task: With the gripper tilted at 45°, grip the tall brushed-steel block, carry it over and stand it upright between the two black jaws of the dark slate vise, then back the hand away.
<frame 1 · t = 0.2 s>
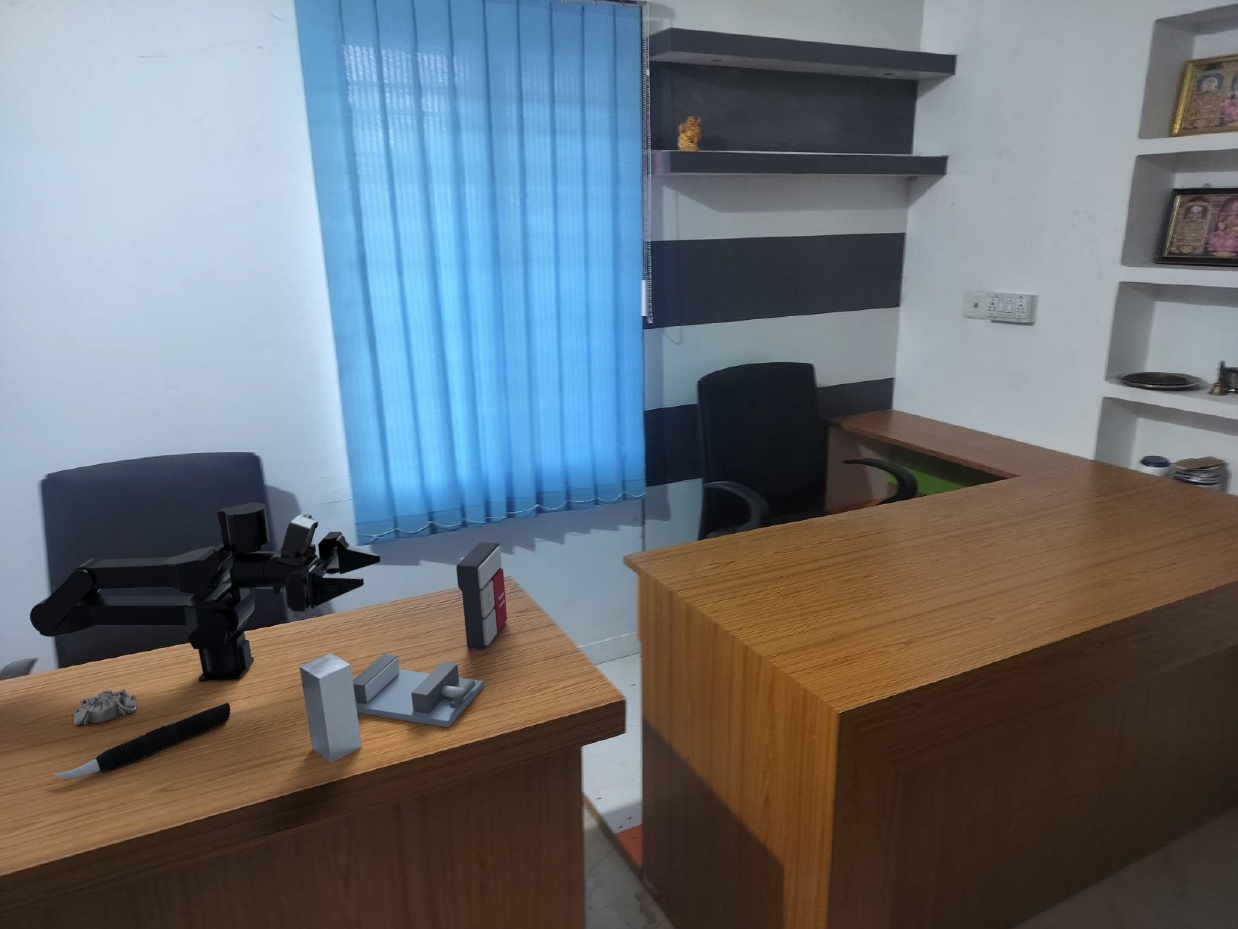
hand: (372, 569, 129), 17 cm above the table, tool horizontal, fingers open, 9 cm apart
utility knife: (150, 752, 113), on the table
steel block: (337, 748, 112), on the table
ornament: (107, 717, 122), on the table
vise: (406, 697, 124), on the table
calculator: (487, 635, 142), on the table
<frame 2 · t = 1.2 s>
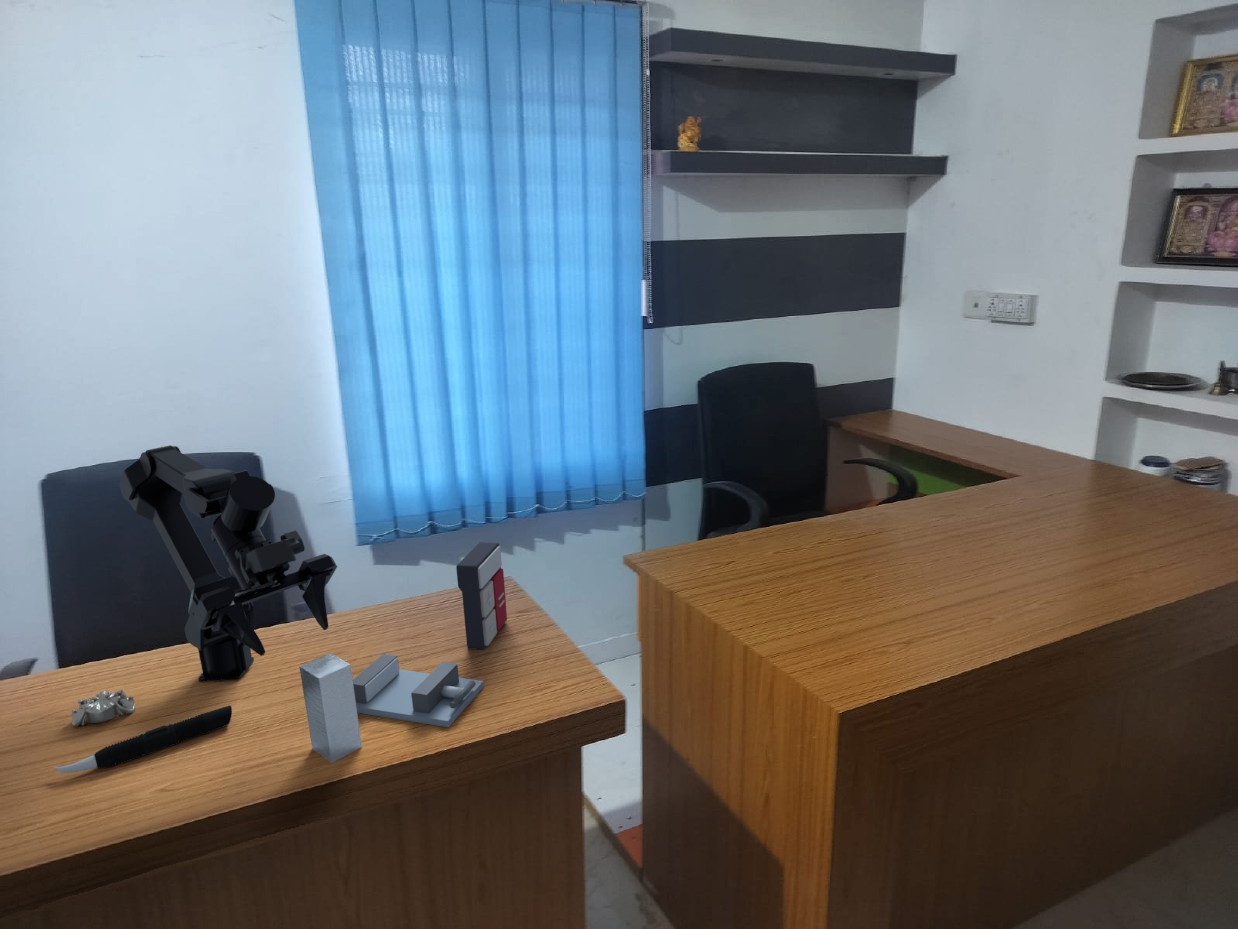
hand: (295, 641, 113), 14 cm above the table, tool tilted 45°, fingers open, 9 cm apart
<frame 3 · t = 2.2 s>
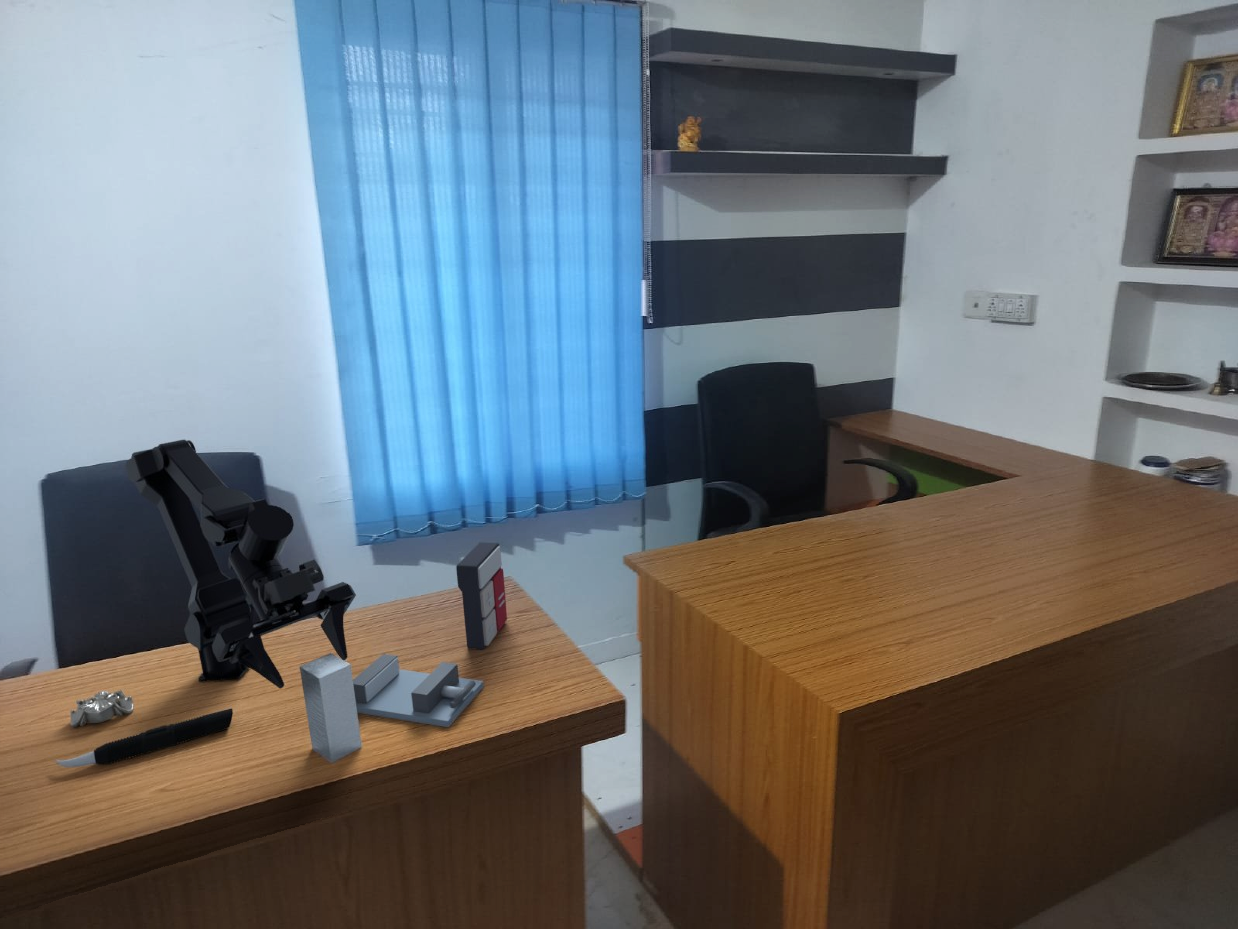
hand: (314, 672, 111), 10 cm above the table, tool tilted 45°, fingers open, 9 cm apart
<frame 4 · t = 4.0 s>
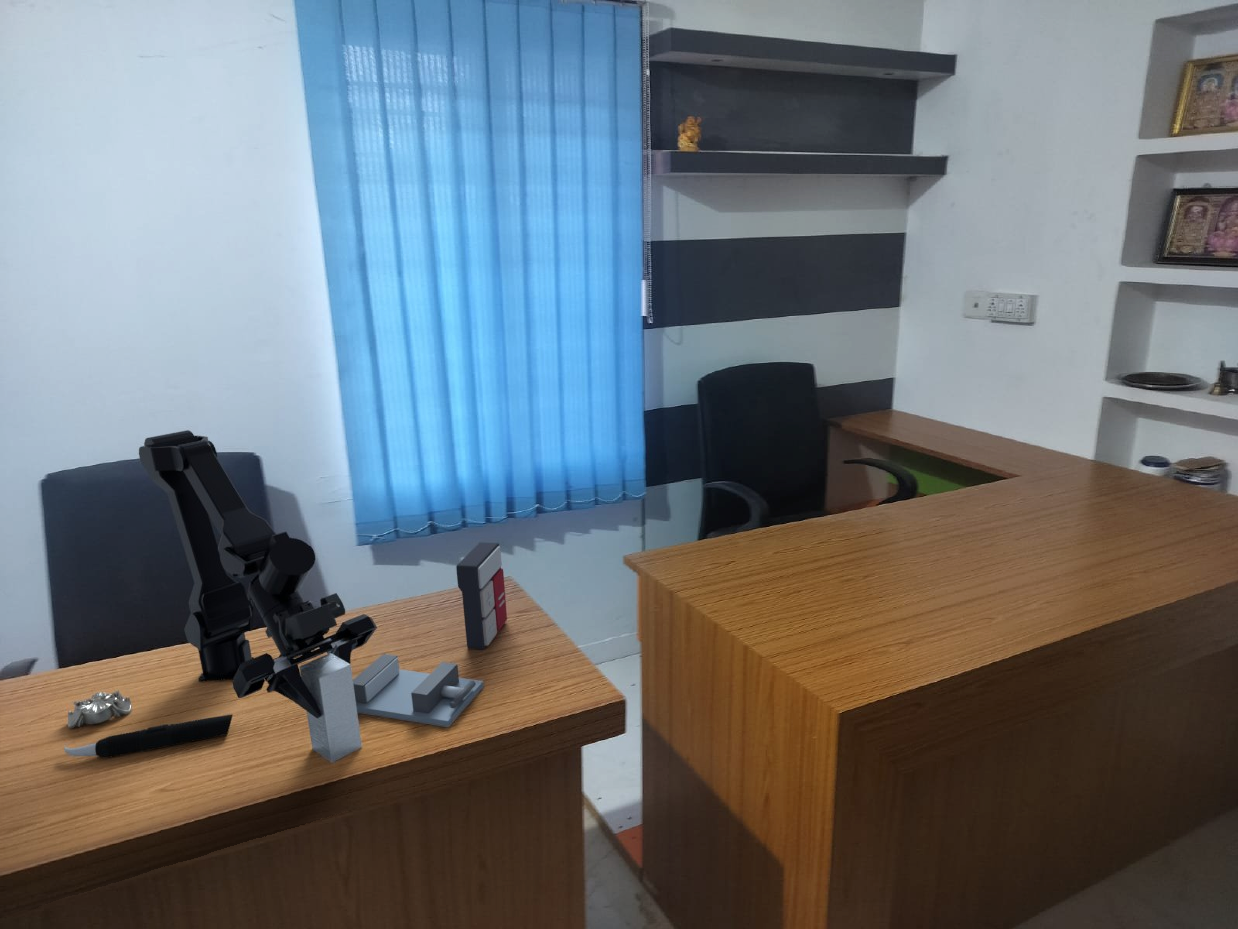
hand: (336, 708, 109), 7 cm above the table, tool tilted 45°, fingers closed on steel block, 4 cm apart
steel block: (337, 748, 112), on the table, touching gripper
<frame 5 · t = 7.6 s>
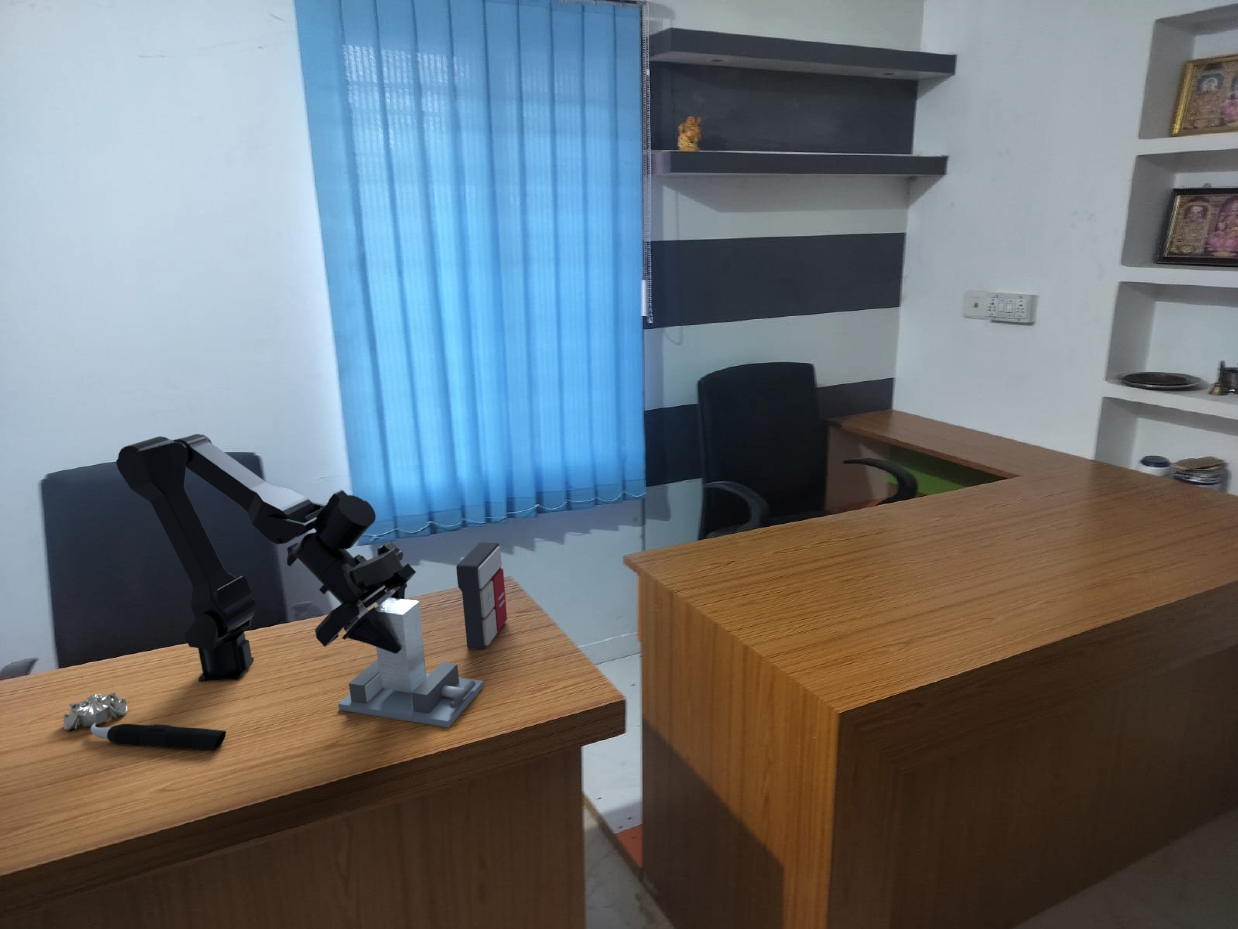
hand: (407, 643, 121), 9 cm above the table, tool tilted 45°, fingers closed on steel block, 4 cm apart
steel block: (404, 682, 123), point 2 cm above the table, touching gripper
when the fingers open (9 cm above the table, at t = 8.0 s): steel block drops 1 cm, resting on vise.
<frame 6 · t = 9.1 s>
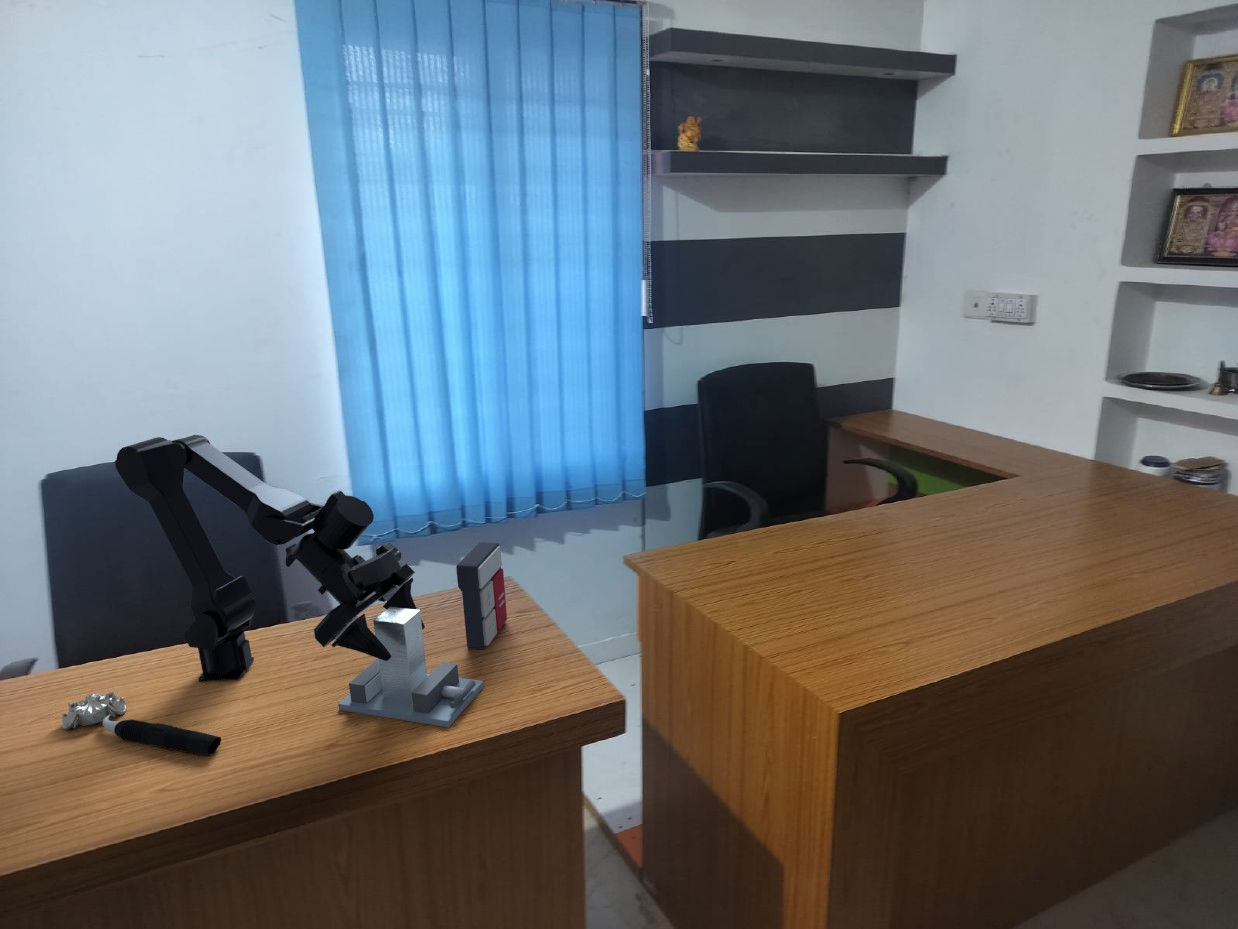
hand: (406, 643, 121), 9 cm above the table, tool tilted 45°, fingers open, 9 cm apart
steel block: (405, 691, 123), point 1 cm above the table, touching vise
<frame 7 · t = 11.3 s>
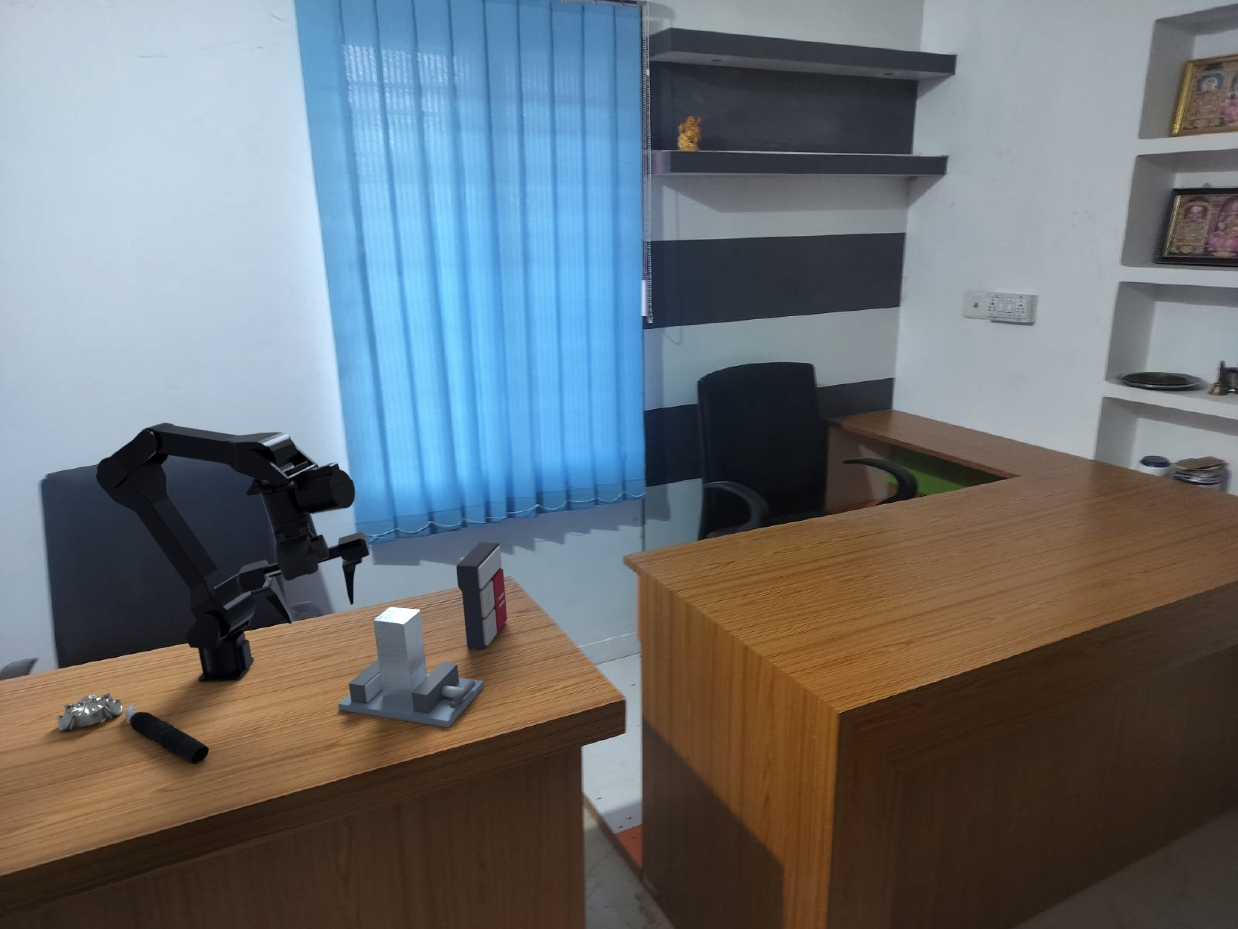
hand: (321, 613, 126), 12 cm above the table, tool pointing down, fingers open, 9 cm apart
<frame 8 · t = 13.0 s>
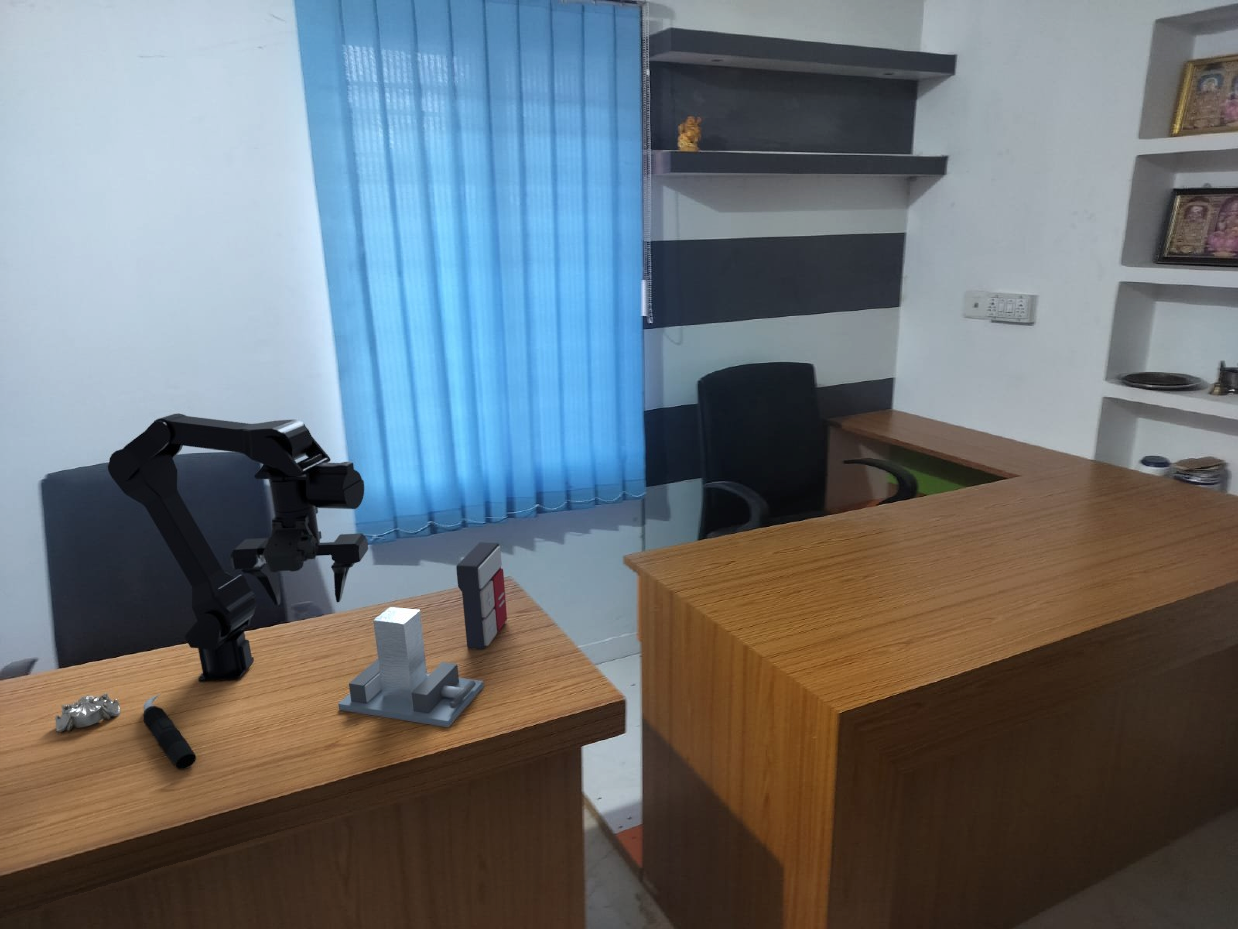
hand: (308, 603, 126), 13 cm above the table, tool pointing down, fingers open, 9 cm apart
at the end: steel block 0.0 cm off-centre on the vise, point 1.0 cm above the vise's base; steel block tilted 0°; the gripper is holding nothing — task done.
